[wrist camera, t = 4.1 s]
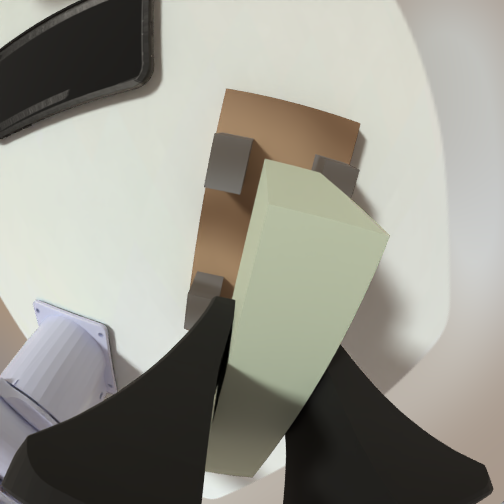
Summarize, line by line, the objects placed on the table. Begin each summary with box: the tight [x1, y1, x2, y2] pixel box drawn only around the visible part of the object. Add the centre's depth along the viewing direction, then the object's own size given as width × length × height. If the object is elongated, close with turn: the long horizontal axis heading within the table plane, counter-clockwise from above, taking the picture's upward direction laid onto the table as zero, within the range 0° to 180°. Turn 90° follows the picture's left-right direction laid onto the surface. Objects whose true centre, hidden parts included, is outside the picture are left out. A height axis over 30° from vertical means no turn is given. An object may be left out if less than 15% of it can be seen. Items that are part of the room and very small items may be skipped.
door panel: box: [205, 159, 390, 477], centre depth 9 cm, size 10×2×6 cm, turn 167°
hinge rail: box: [184, 89, 360, 330], centre depth 15 cm, size 15×7×4 cm, turn 168°
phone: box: [0, 0, 154, 139], centre depth 12 cm, size 8×1×15 cm
